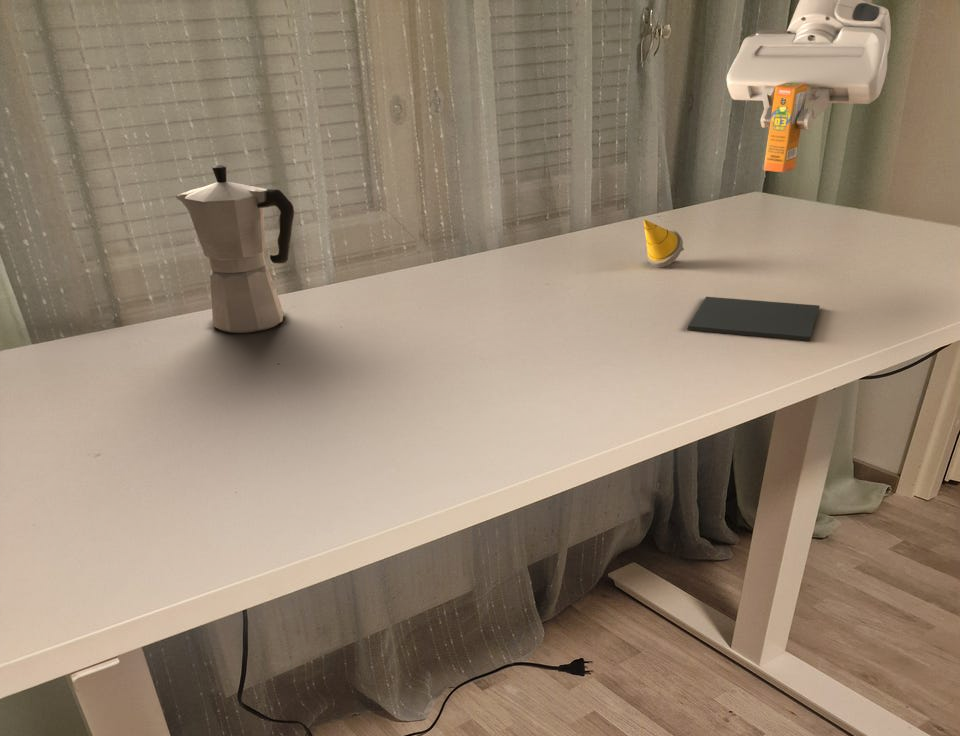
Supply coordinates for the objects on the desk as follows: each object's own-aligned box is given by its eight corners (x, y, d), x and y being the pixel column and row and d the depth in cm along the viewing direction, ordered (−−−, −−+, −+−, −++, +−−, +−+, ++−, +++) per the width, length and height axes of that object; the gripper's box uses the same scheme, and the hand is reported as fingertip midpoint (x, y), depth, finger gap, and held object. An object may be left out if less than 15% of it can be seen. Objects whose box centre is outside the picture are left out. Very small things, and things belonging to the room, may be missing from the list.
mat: (818, 309, 107) (819, 305, 107) (809, 341, 98) (810, 336, 98) (705, 300, 111) (706, 296, 111) (687, 330, 103) (687, 325, 102)
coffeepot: (184, 329, 109) (146, 171, 98) (223, 307, 116) (192, 156, 105) (293, 338, 105) (266, 173, 94) (327, 314, 112) (305, 158, 101)
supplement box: (761, 170, 118) (773, 84, 112) (774, 166, 120) (786, 81, 114) (782, 173, 116) (796, 85, 110) (796, 169, 118) (810, 82, 112)
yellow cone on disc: (691, 270, 124) (662, 228, 116) (656, 283, 127) (626, 243, 119) (690, 239, 125) (661, 195, 118) (656, 253, 128) (626, 211, 121)
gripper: (743, 12, 117) (705, 105, 117) (902, 9, 107) (860, 110, 107) (751, 49, 122) (714, 138, 122) (902, 49, 113) (862, 146, 112)
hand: (784, 125), depth 114 cm, fingers closed on supplement box, 3 cm apart
